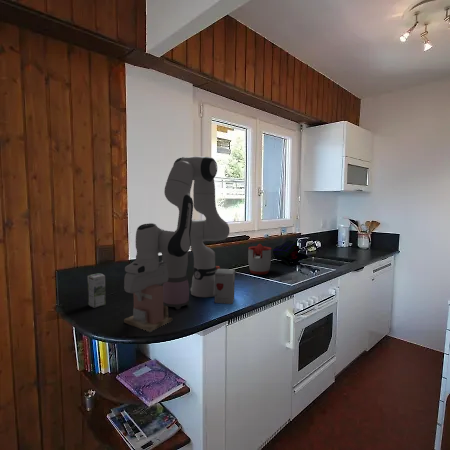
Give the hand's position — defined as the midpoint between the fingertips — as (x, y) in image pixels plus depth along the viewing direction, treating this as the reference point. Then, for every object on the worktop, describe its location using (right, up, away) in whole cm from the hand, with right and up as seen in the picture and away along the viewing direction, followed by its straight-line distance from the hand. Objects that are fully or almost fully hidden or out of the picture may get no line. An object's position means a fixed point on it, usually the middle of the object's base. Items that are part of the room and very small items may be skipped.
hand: (148, 298), depth 122 cm
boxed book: (0, -9, +1) cm, 9 cm away
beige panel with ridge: (0, -10, +1) cm, 10 cm away
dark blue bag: (+82, -1, +107) cm, 135 cm away
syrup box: (-29, -8, +19) cm, 36 cm away
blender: (+7, -8, +22) cm, 24 cm away
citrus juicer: (+54, -3, +80) cm, 96 cm away
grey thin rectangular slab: (-2, -9, -3) cm, 10 cm away
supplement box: (+31, -8, +27) cm, 42 cm away
